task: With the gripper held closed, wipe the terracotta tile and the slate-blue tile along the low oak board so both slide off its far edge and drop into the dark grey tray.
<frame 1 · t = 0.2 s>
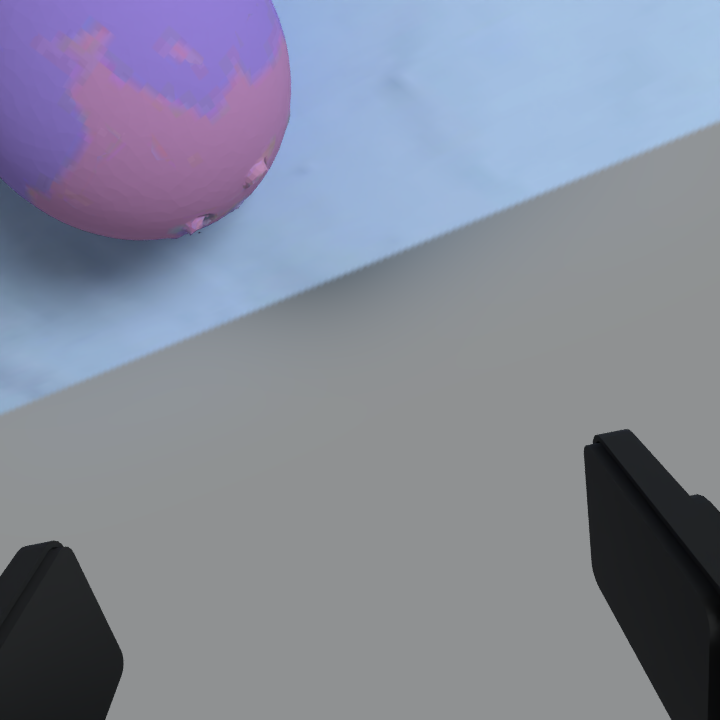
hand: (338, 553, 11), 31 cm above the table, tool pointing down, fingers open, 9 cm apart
decorative ball: (170, 82, 36), on the table
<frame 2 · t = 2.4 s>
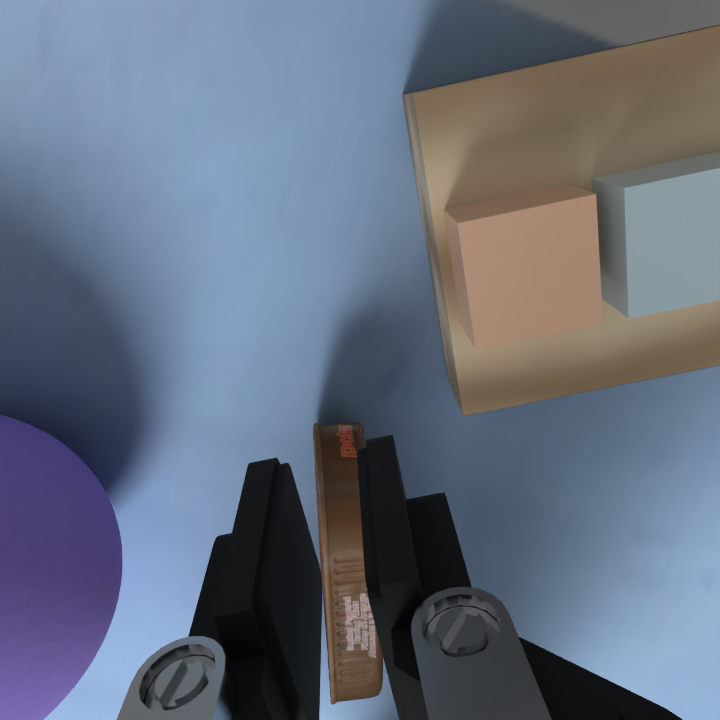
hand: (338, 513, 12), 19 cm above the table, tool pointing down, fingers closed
board: (572, 219, 29), on the table
tile terracotta: (511, 256, 26), point 4 cm above the table, touching board
tin: (345, 510, 36), on the table
tile slate: (655, 227, 26), point 4 cm above the table, touching board
decorative ball: (19, 481, 34), on the table
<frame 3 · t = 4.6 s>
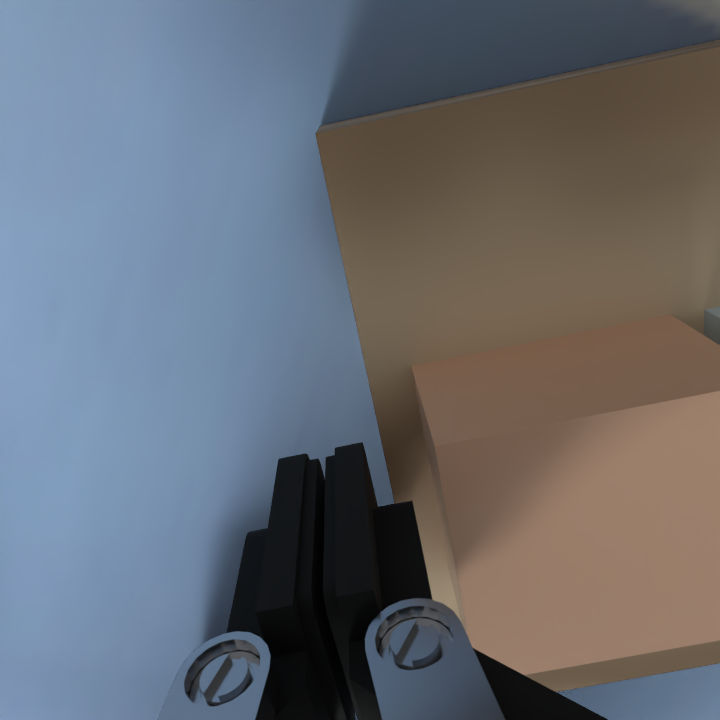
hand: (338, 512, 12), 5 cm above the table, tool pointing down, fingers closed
board: (637, 347, 16), on the table
tile terracotta: (550, 451, 13), point 4 cm above the table, touching board, gripper
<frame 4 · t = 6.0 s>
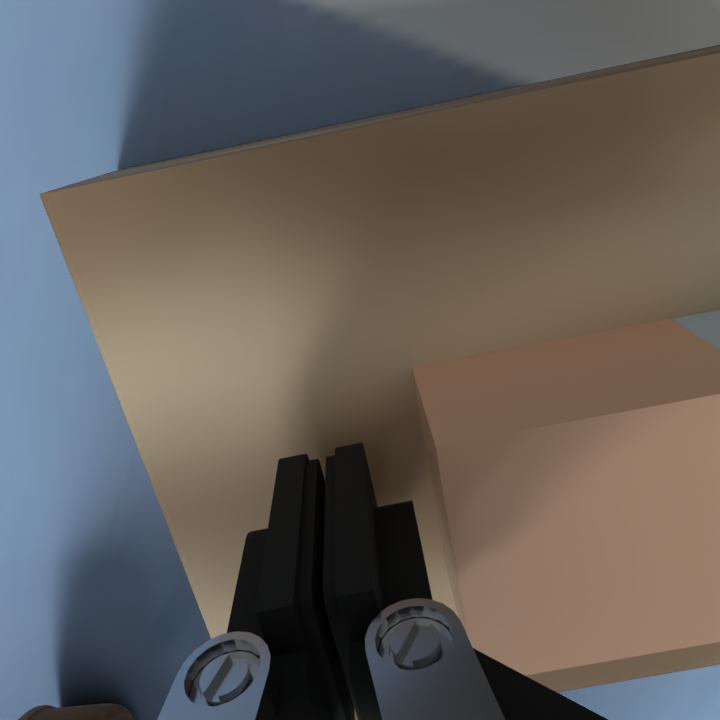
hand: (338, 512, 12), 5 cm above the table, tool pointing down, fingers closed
board: (457, 384, 17), on the table
tile terracotta: (549, 453, 13), point 4 cm above the table, touching board, gripper, tile slate
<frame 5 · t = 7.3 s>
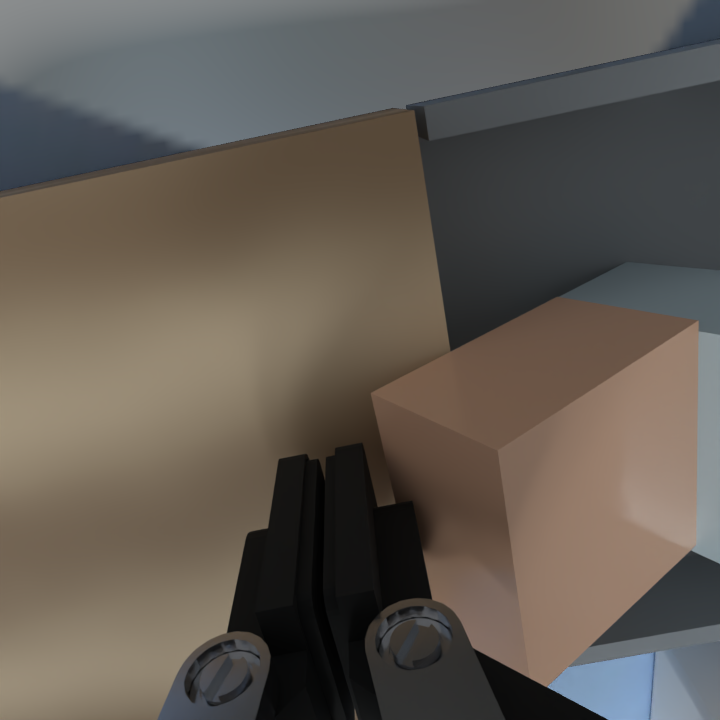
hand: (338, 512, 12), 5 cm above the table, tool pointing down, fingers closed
board: (183, 434, 17), on the table
tile terracotta: (488, 448, 13), point 4 cm above the table, tilted 33°, touching gripper, tile slate
tray: (630, 357, 16), on the table
tile slate: (655, 437, 12), point 4 cm above the table, tilted 123°, touching tile terracotta, tray
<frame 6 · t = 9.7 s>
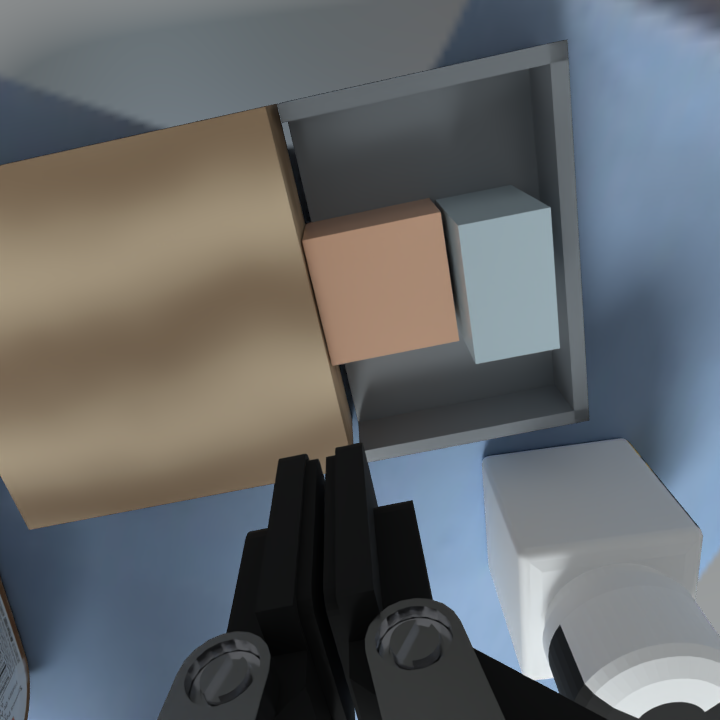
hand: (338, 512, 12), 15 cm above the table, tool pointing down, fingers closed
medicine bottle: (552, 501, 32), on the table
board: (159, 311, 27), on the table
tile terracotta: (378, 270, 26), resting on tray
tray: (439, 259, 26), on the table
tile slate: (454, 277, 23), point 3 cm above the table, tilted 90°, touching tray
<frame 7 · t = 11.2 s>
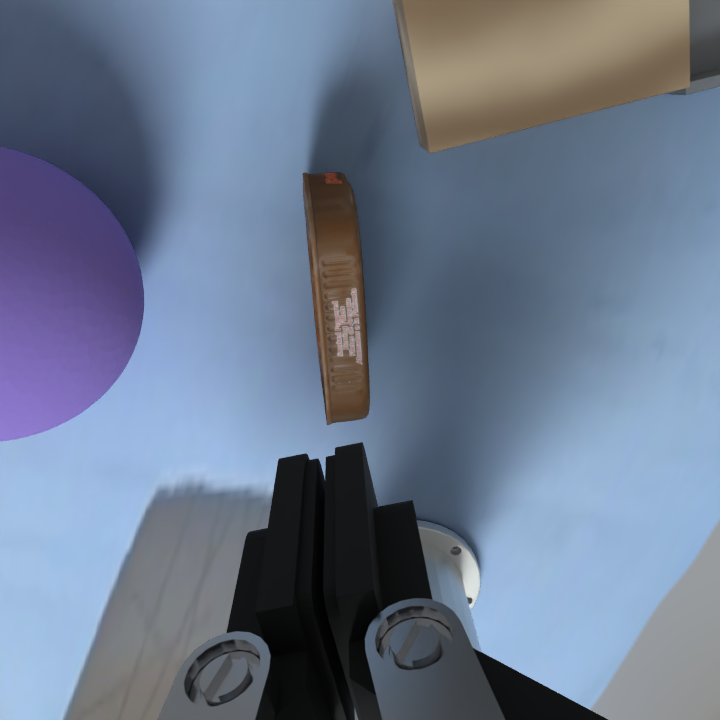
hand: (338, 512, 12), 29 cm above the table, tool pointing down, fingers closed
tin: (335, 281, 41), on the table
decorative ball: (50, 256, 39), on the table
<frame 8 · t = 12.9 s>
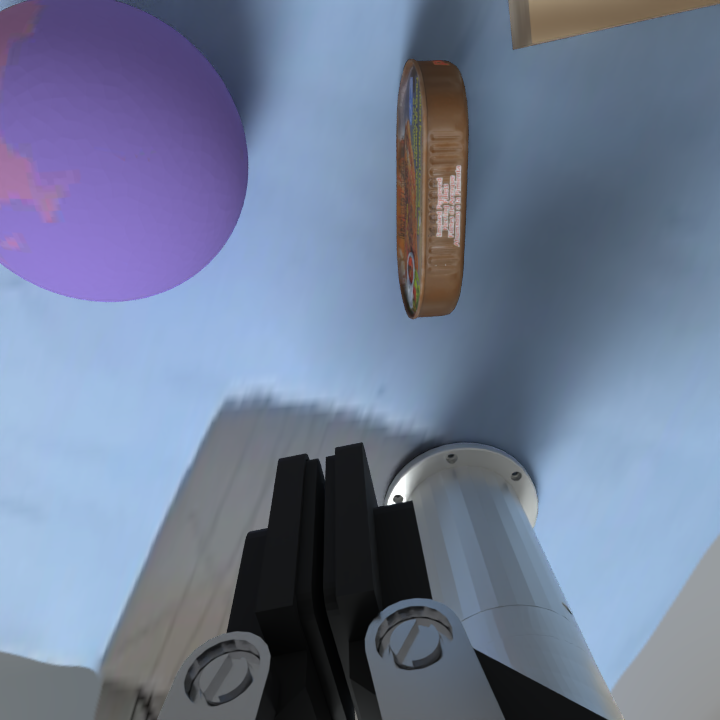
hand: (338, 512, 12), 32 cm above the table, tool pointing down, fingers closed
tin: (419, 187, 41), on the table
decorative ball: (144, 149, 40), on the table
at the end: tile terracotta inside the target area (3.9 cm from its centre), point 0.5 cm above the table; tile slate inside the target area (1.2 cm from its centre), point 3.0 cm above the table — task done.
